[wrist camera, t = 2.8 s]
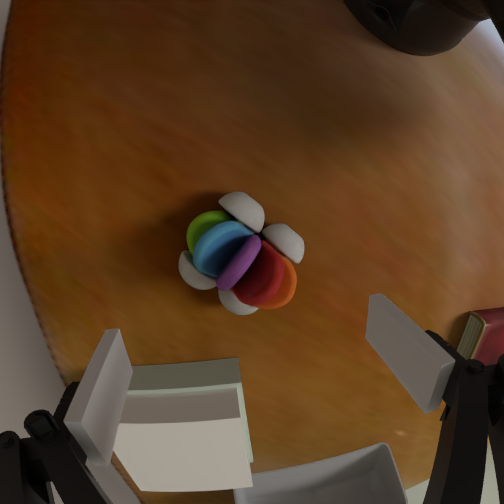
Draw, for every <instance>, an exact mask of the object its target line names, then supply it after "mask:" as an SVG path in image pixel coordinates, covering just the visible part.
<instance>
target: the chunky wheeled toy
mask: <svg viewBox="0 0 504 504" xmlns="http://www.w3.org/2000/svg"><path fill="white" fill-rule="evenodd" d="M219 203H220V205H221V206H222V207H223V208H224V209H225V210H227V211H228V212H229V213H230V214H231V215H233V216H234V217H235V218H236V219H237V220H236V219H234V218H233V217H231V216H230V215H229V214H228V213H226V212H224V211H221V210H218V211H209V212H205V213H203V214H200V215H199V216H197V217H196V218H195V219H194V220H193V221H192V222H191V224H190V225H189V227H188V230H187V235H186V236H187V244H188V248H189V250H184V251H183V252H182V253H181V255H180V258H179V271H180V274H181V276H182V278H183V279H184V281H185V282H186V283H188V284H189V285H190V286H192V287H194V288H196V289H201V290H207V289H211V288H214V287H216V286H217V288H218V293H219V298H220V301H221V303H222V304H223V305H224V307H225V308H227V309H228V310H229V311H230V312H232V313H234V314H238V315H247V314H251V313H253V312H255V311H256V310H258V309H259V308H260V309H266V310H271V309H276V308H279V307H281V306H283V305H285V304H287V303H288V302H289V301H290V300H291V298H292V297H293V295H294V293H295V289H296V284H297V277H296V273H295V270H294V267H293V265H292V264H291V262H290V261H293V262H295V263H300V261H301V260H302V257H303V254H304V241H303V239H302V238H301V237H300V236H299V235H298V234H296V233H295V232H294V231H293V230H292V229H291V228H289V227H288V226H287V225H286V224H283V223H276V224H272V225H269V226H267V227H266V228H264V229H263V230H262V227H263V225H264V211H263V208H262V206H261V205H260V204H258V203H257V202H256V201H255V200H253V199H252V198H251V197H249V196H248V195H247V194H245V193H244V192H232V193H229V194H226V195H225V196H223V197H222V198H221V199H220V200H219ZM261 230H262V234H263V235H264V236H265V238H266V241H264V240H262V241H261V240H260V238H259V237H258V236H257V235H254V233H256V232H257V233H259V232H260V231H261Z"/></svg>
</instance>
